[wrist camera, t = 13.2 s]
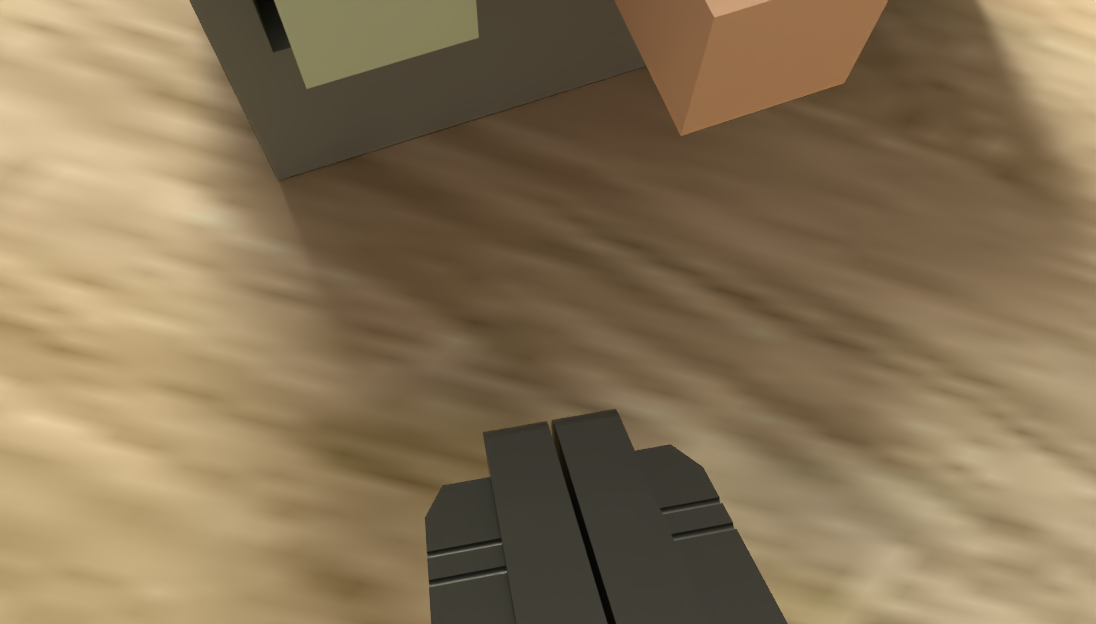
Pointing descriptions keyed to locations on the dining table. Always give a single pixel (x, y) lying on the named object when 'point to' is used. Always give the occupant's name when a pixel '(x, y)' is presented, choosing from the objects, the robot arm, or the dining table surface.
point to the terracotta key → (745, 51)
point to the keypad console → (410, 76)
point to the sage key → (370, 33)
